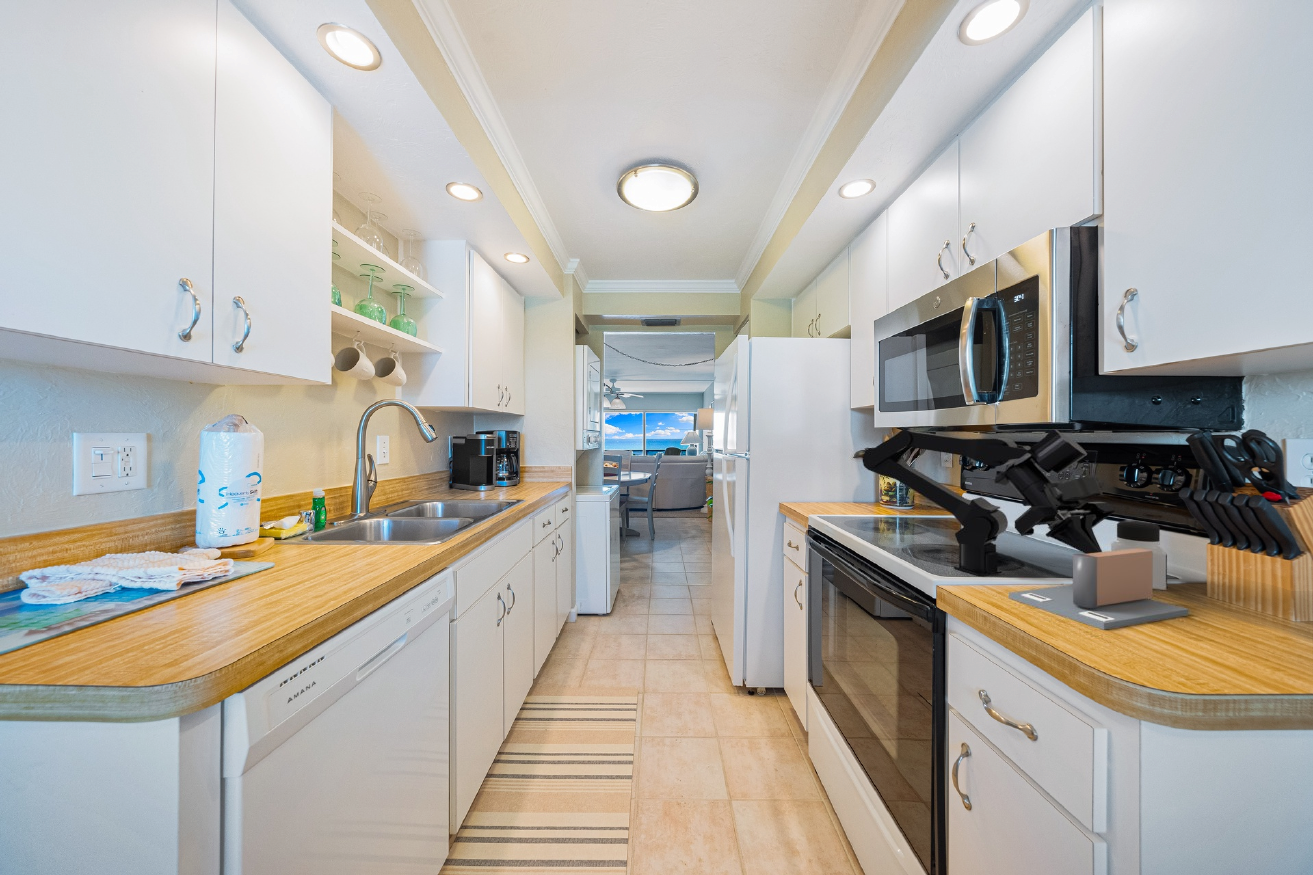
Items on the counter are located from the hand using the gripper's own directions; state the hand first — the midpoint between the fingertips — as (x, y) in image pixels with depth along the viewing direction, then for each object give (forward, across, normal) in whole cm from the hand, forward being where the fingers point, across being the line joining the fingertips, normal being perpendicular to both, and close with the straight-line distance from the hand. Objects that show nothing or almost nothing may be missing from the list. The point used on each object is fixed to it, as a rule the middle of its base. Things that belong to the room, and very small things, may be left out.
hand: (1100, 557), depth 88 cm
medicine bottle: (+2, +18, +9) cm, 21 cm away
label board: (+6, -4, +4) cm, 9 cm away
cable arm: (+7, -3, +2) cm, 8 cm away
